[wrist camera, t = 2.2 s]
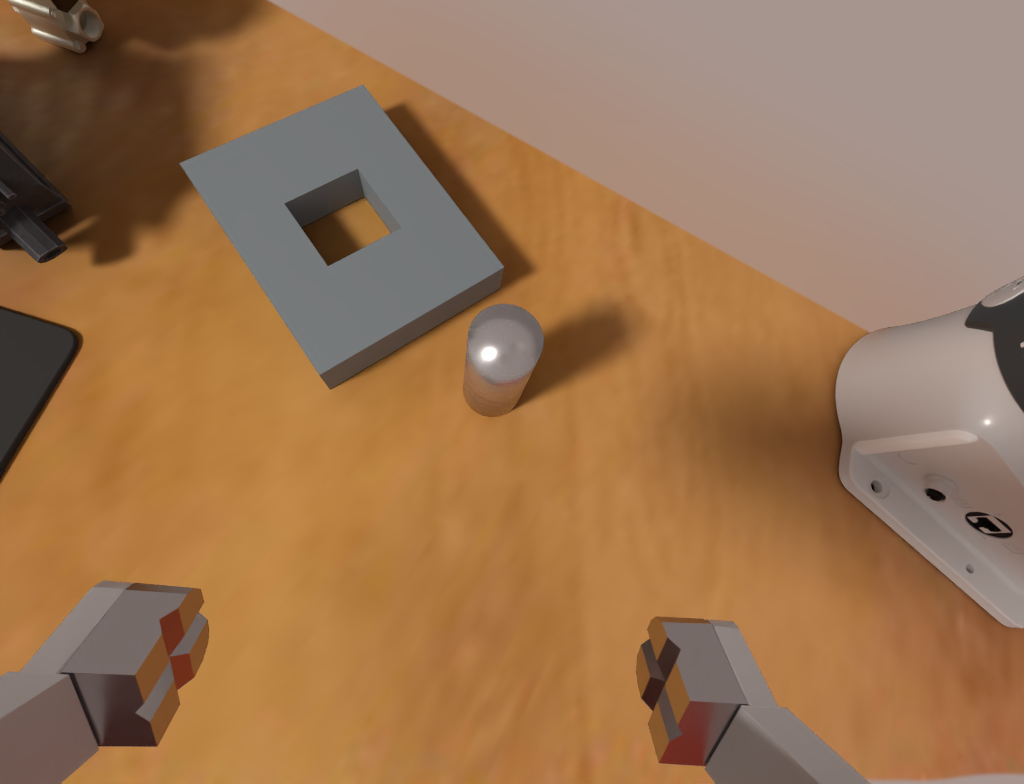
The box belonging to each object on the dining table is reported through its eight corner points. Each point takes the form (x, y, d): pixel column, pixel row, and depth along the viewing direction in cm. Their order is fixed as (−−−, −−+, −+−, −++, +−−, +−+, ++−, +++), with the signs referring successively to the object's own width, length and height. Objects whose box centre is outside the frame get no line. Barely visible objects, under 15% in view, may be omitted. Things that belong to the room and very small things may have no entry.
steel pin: (531, 396, 36) (558, 348, 27) (485, 428, 35) (497, 388, 26) (498, 351, 36) (514, 291, 28) (451, 381, 35) (453, 328, 27)
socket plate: (500, 288, 38) (504, 267, 35) (330, 389, 34) (319, 375, 31) (368, 116, 41) (363, 84, 38) (199, 192, 37) (179, 163, 34)
